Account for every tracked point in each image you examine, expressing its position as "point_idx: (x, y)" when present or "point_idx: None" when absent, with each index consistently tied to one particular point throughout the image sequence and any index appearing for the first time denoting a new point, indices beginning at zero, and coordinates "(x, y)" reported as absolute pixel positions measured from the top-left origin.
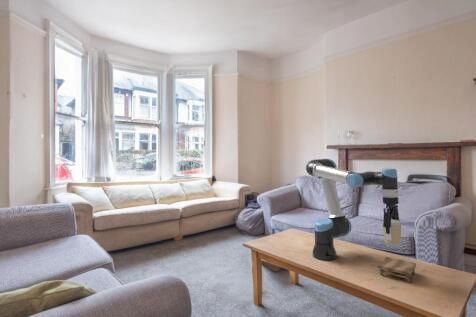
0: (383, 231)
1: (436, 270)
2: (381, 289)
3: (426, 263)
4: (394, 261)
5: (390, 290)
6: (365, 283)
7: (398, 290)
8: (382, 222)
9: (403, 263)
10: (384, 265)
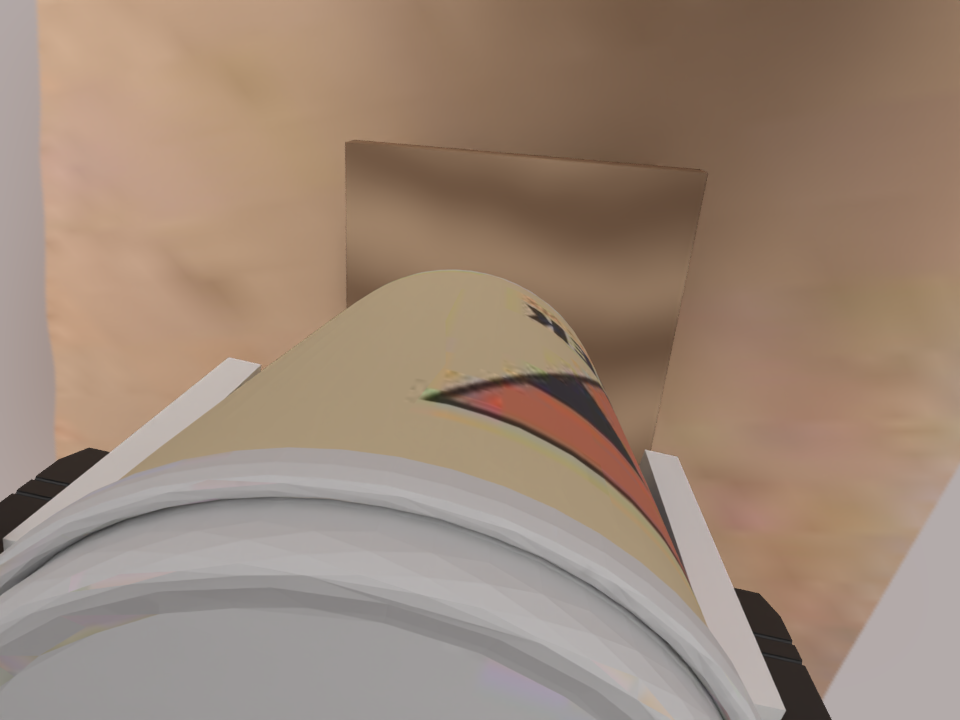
0: (298, 348)
1: (774, 561)
2: (104, 211)
3: (927, 500)
4: (581, 292)
5: (142, 278)
6: (106, 52)
7: (188, 331)
8: (59, 519)
9: None
10: (386, 207)
